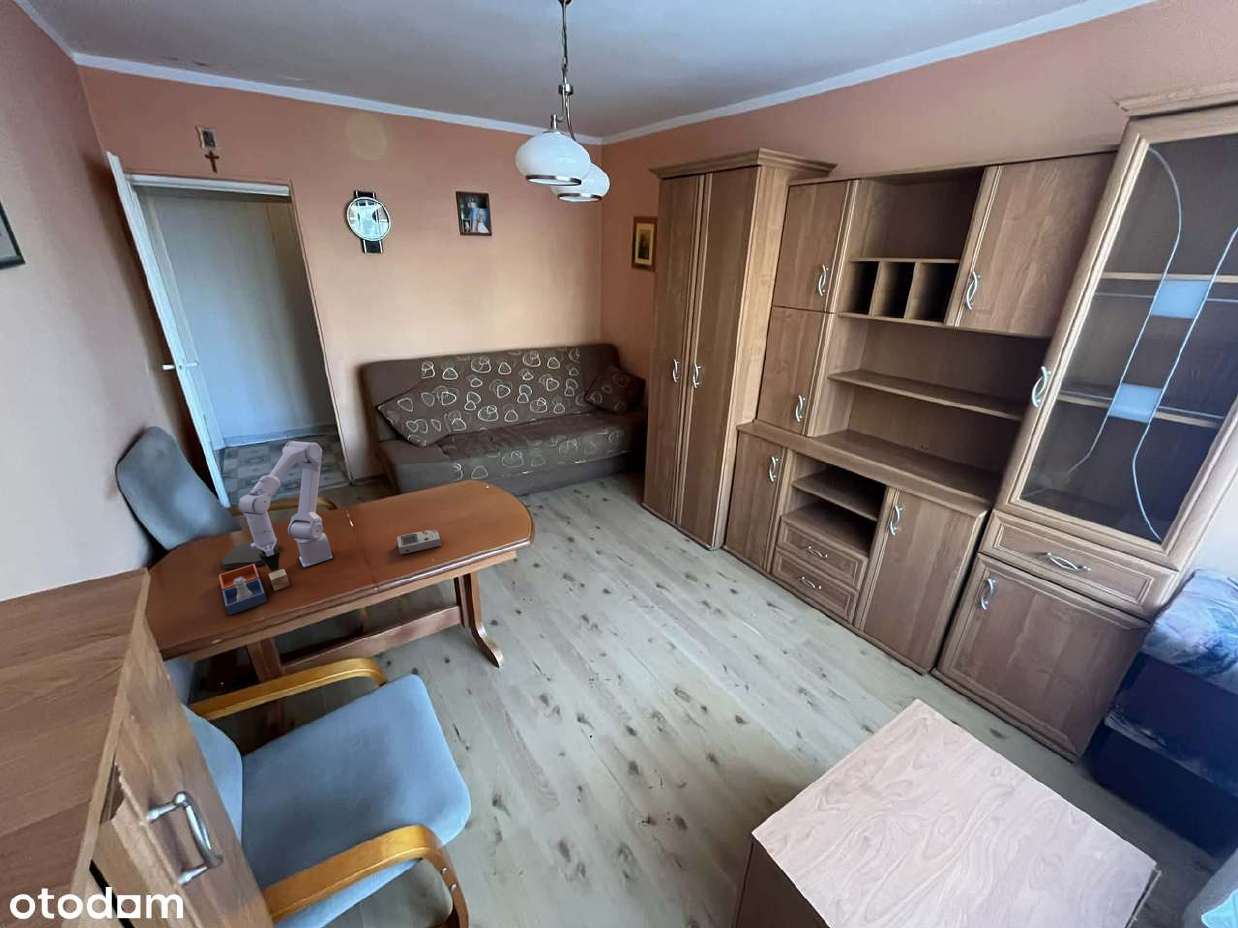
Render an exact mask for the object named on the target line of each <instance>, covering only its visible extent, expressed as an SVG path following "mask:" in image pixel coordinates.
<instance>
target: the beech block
mask: <svg viewBox="0 0 1238 928" xmlns="http://www.w3.org/2000/svg"><path fill="white" fill-rule="evenodd" d="M268 577H269V579H270V584H271V586H272V588H273V591H274V592H276V591H279V590H282V589H284V588H287V587H290V586H291V585H290V582H289V578H288V574H287V573H286V570H285V568H282V569H278V570H275V571H272V572H270V573H268Z"/></svg>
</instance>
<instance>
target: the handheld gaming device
mask: <svg viewBox="0 0 1238 928" xmlns="http://www.w3.org/2000/svg"><path fill="white" fill-rule="evenodd" d="M396 540H397V546H398V550H399V554H400V555H405V554H410V553H414V552H418V551H423V550H427V549H432V548H437V547H440V546H442V542H441V538H440V533H439V531H438V530H435V529H428V530H423V531H417V532H412V533H408V534H403V535H398V536H396Z"/></svg>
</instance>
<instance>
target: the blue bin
mask: <svg viewBox="0 0 1238 928" xmlns="http://www.w3.org/2000/svg"><path fill="white" fill-rule="evenodd" d="M246 587H247V588H248V590H250V591H251V592H252V593H253V595H254V596H251V597H248V598H246V599H243V600H240V601H237V594H238V591H237V588H236V587H235V586H234V587H231V588H228V589H225V590H222V589H221V592H222V598H223V600H224V605H225V609H226V611H227V613H228V616H231V615H234V614H237V613H239V612H242V611H245V610H248V609H250V608H251V609H252V608H254V607H256V606H259V605H262V604H264V603H268V601H269V600H268V599H267V595H266V593H265V589H264V586H263V584H262V581H261V578H260V577H259V579H256V580H253V581H250V582H247V583H246Z"/></svg>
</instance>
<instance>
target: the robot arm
mask: <svg viewBox="0 0 1238 928" xmlns="http://www.w3.org/2000/svg"><path fill="white" fill-rule="evenodd" d="M281 451H282V455H281V457H280V458H279V459H278V461H277V463H276V464H275V465H274V467H273V468H272V470H271V471H270V473H269V474H268V475H267V474H266V475H263V476H260V478H259V479H258V481H257V483H256V484H255V485H254V486H253V488H252V489H251V490H250V491H249V493H248V494H244V495H243V496H242V497H240V498H239V500H238V502H237V510H238V511H239V512H240V513H242V514H243V516H244V518H245V519H246V522H247V525H248V527H249V531H250V534H251V537H252V540H253V541H254V543H252V544H250V545H251V548H254V547H256V548H258V549H260V550H261V552H262V554H259V557H260V558H261V559H262V560H263V561H264V562H265V563H264V564H266V566H267V567H268V569H269V570H270V571H271V572H276V571H279V570H280V564H279V563H280V562H279V559H280V554H281V549H280V548H278V549H277V550H275V551H274V546H275V544H276V542H277V541H278V539H277V537H276V534H275V532H274V528H273V525H272V522H271V518H270V516H269V511H268V510H269V509H270V506H271V502H272V498H273V496H274V495H275V493H276V492H277V491H278V490H279V488H280V487H281V486H282V485H281V480H282V479H283V478H284V476H286V474H287V473H288V472H289V471H290V470H291V469H292V468H293V467H294V465H297V464H298V465H299V466H300V467H301V469H302V473H301V481H300V482H301V483H300V491H299V499H298V507H297V512H296V513H295V514H293V515H292V516H291V518H290V522H289V525H288V527H287V534H288V536H289V537H290V538H293V540H294V541H295V542H296V544H297V548H298V552H299V555H300V556H299V557H298V559H299V561H300V563H301V565H302V567H303V568H307V567H310V566H313V565H316V564H318V563H322V562H326V561H329V560H331V559H333V554H332V550H331V546H330V543H329V539H328V536H327V535H326V533H325V532H324V527H323V518H322V517H321V516H319V514H317V505H318V496H319V485H320V477H321V467H322V456H323V449H322V447H321V446H320V445H319V444H318V443H317V442H307V441H306V442H305V441H295V440H290V441H287V443H286V444H285V445H284V446H283V448H282V450H281ZM277 543H278V542H277Z"/></svg>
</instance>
